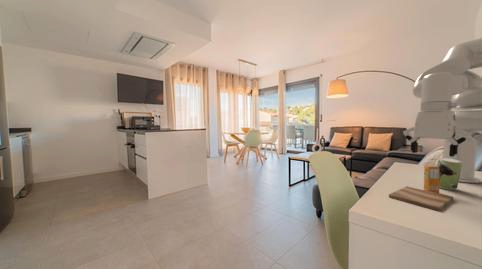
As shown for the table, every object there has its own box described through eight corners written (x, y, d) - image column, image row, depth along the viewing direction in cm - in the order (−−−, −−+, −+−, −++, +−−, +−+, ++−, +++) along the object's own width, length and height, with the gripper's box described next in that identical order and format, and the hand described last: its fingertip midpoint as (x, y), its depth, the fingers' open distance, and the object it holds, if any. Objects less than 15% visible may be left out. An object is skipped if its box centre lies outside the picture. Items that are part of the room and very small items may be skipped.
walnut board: (406, 188, 71) (406, 186, 71) (453, 199, 61) (453, 196, 61) (388, 197, 63) (388, 194, 63) (438, 211, 52) (438, 207, 52)
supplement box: (422, 190, 69) (423, 164, 69) (433, 191, 68) (435, 165, 68) (427, 193, 66) (428, 166, 66) (439, 194, 65) (441, 167, 65)
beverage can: (446, 185, 74) (447, 157, 74) (466, 192, 67) (468, 160, 67) (429, 185, 75) (430, 156, 74) (447, 191, 68) (449, 160, 67)
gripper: (475, 106, 60) (472, 157, 61) (408, 110, 75) (405, 151, 76) (470, 104, 56) (467, 158, 57) (400, 109, 71) (398, 151, 72)
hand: (432, 154), depth 66 cm, fingers open, 9 cm apart
